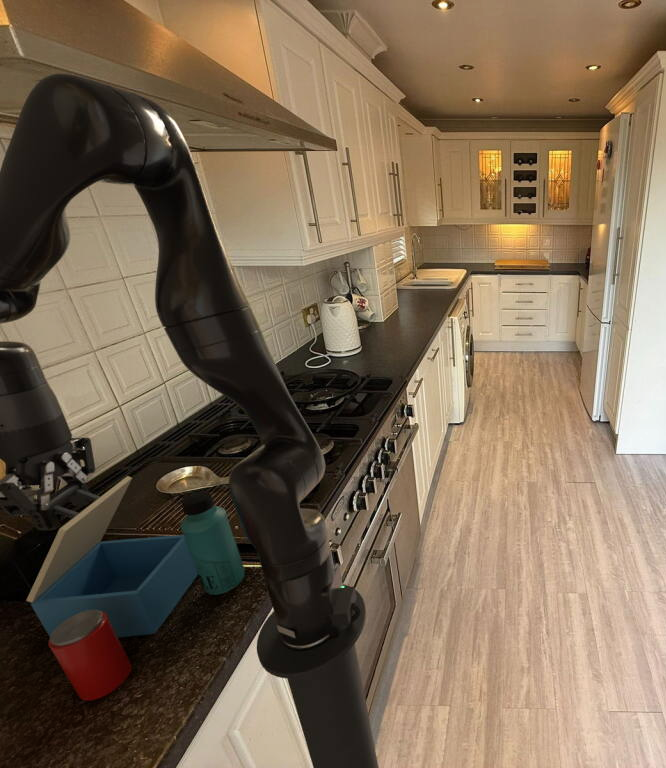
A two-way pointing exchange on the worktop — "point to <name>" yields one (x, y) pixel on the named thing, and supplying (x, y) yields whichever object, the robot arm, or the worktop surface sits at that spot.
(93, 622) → the can
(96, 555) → the cool box
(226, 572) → the beverage bottle
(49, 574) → the lid
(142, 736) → the worktop surface
